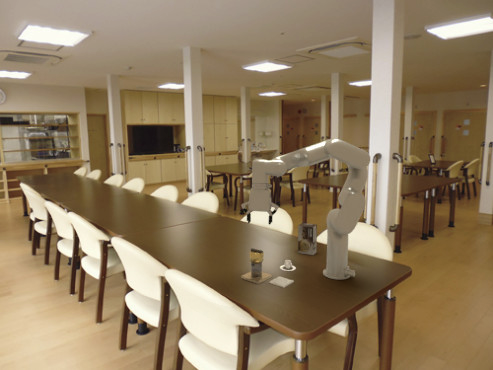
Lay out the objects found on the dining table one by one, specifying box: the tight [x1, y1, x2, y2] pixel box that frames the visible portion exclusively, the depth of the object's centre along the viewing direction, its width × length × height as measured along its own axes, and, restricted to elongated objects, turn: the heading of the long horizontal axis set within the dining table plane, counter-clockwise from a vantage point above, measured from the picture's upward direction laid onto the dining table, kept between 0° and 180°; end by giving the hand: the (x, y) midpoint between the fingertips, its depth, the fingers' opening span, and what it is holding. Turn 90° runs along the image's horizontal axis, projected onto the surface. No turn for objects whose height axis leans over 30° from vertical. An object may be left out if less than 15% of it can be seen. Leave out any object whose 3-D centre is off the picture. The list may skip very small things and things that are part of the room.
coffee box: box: [297, 222, 318, 256], centre depth 197 cm, size 9×6×16 cm
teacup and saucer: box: [279, 259, 297, 272], centre depth 176 cm, size 9×8×4 cm
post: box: [240, 261, 272, 285], centre depth 163 cm, size 10×10×8 cm
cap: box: [249, 247, 264, 263], centre depth 162 cm, size 6×6×5 cm
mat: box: [268, 275, 295, 289], centre depth 158 cm, size 8×8×1 cm
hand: (259, 223), depth 162 cm, fingers open, 9 cm apart
